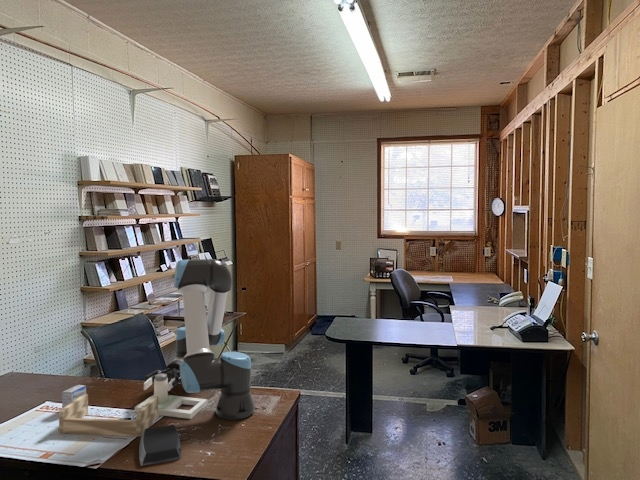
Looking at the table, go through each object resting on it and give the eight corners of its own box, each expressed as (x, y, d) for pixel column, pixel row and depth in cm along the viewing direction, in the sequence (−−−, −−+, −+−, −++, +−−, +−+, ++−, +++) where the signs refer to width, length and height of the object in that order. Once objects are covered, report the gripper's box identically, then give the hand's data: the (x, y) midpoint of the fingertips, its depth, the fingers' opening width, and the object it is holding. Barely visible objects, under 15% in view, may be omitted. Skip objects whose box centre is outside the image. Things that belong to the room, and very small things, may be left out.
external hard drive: (138, 467, 135) (138, 454, 135) (139, 438, 153) (139, 427, 153) (182, 460, 140) (182, 447, 140) (178, 432, 158) (178, 421, 158)
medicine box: (71, 414, 170) (71, 392, 169) (61, 413, 171) (61, 391, 170) (86, 406, 177) (86, 385, 177) (76, 405, 178) (76, 384, 178)
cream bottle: (170, 399, 180) (170, 373, 180) (163, 404, 175) (163, 378, 175) (158, 397, 181) (158, 372, 181) (151, 402, 176) (151, 377, 176)
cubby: (84, 414, 170) (84, 393, 170) (158, 416, 169) (158, 396, 169) (59, 433, 155) (59, 411, 154) (140, 436, 154) (140, 413, 153)
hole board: (207, 404, 182) (207, 398, 182) (190, 418, 168) (190, 412, 168) (155, 398, 187) (155, 392, 187) (134, 412, 173) (134, 406, 173)
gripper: (200, 377, 196) (183, 397, 173) (152, 375, 196) (129, 395, 174) (200, 360, 195) (183, 378, 173) (152, 359, 196) (129, 376, 174)
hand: (156, 387), depth 173 cm, fingers open, 9 cm apart
